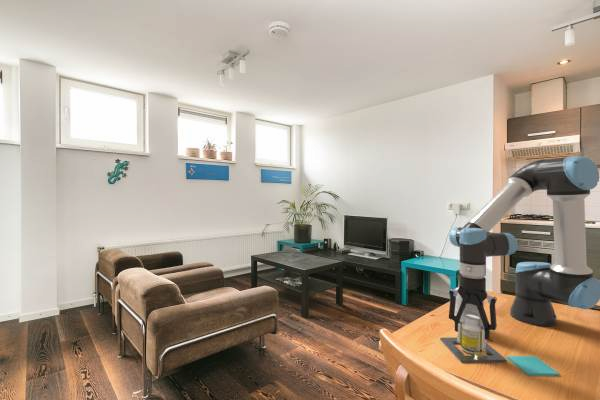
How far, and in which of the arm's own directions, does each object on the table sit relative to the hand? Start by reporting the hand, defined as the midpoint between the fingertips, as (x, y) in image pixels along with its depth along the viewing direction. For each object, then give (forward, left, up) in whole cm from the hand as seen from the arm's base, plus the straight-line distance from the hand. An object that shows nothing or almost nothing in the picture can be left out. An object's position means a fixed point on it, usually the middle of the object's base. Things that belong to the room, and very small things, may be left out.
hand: (471, 344), depth 99 cm
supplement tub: (-8, -16, -2) cm, 18 cm away
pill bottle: (0, 0, -2) cm, 2 cm away
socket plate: (0, 0, -2) cm, 2 cm away
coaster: (-13, +9, -2) cm, 16 cm away
